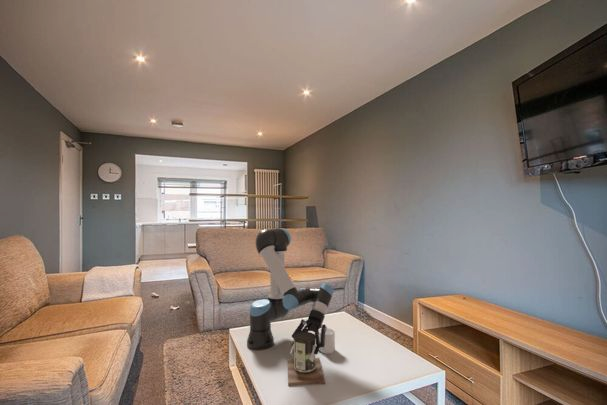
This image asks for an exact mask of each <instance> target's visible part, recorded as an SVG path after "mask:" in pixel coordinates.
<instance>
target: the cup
mask: <svg viewBox="0 0 607 405" xmlns="http://www.w3.org/2000/svg"><path fill="white" fill-rule="evenodd" d="M335 333H336V332H335V330H334V329H333V328H328V327H327V329H326V332H325V345H324V347H320V348H319V351H320V352H321V353H322V354H326V355H329V354H333V353H335V351H336V341H335V340H336V338H335V337H336V336H335V335H336V334H335ZM313 334H314V335H315V333H313ZM319 339H320V340H321V329H319ZM315 345H316V338H315Z"/></svg>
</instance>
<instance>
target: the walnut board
mask: <svg viewBox="0 0 607 405" xmlns="http://www.w3.org/2000/svg"><path fill="white" fill-rule="evenodd" d="M286 360H287V384H288V385H287V386H306V385H325V384H326V380H325V376H324V372H323V369H322V367H323V366H322V364H321V360H320V357H315V365H316V367H315V369H314V370H313V371H310V372H299V371H297V370H296V369H295V368H294V358H287V359H286Z"/></svg>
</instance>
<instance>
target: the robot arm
mask: <svg viewBox="0 0 607 405" xmlns="http://www.w3.org/2000/svg"><path fill="white" fill-rule="evenodd" d="M291 240H292V238H291V234H290V232H288V230H287V229H285V228H281V227H279V228H278V227H277V228H269V229H267V228H266V229H263V230H260V232H258V234H257V236H256V237H255V248H256V251H257V253H258V255H259V256H260V257H262V259H263V261H264V262H265V264H266V266H267V267H268V269H269V271H270V273H269V274H270V275H269V276H270V277H269V278H270V286H269V287H270V291H269V292H270V293H269V294H268V295H267V299H265V298H264V299H263V298H262V299H258V300H255V301H253V302H252V303H251V304H250V308H249V332H248V337H247V340H246V346H247V347H248V348H249V349H251V350H254V351H255V350H257V351H259V350H262V351H263V350H266V349H269V348H271V347H272V346H274V343H275V340H274V339H275V338H274V335H273V331H272V330H271V329H272V328H271V327H272V326H271V325H272V324H271V323H272V322H274V321H277V320H279V319H282V318H283V319H284V318H285V317H286V316H288V315H289V313H290V312H291V311H292V310H295V309H297V308H299V307H302V306H305V305H307V304H310V303H313V304H312V307H311V310H310V312H309V315H308V318H307V319H306V320H304V318H302V319H301V320H300V323H299V325H298V326H297V327H296V329H295V330H294V332H292V334H291V338H292V340H293V341H292V344H291V349H290V353H289V354H290V355H291V356H293V357H294V335H295V334H297V333H299V332H312V333H314V334H315V338H316V344H315V345H314V348H313V350H312V353H311V356H310V359H309V360H310V361H311V362H313V361H314V358H316V355H318V353H319V351H320V347H324V345H325V332H326V329H327V328H328V326H326V324H323V322H324V319H325V316H326V314H327V312H328V309H329V305H330V302H331V300H332V298H333V295H334V290H335V289H334V287H333V286H332V285H330V284H328V283H324V282H323V283H322V284H320V286H319V287H301V288H300V289H299V290H298V289H297V288H296V286H295V284H294V282H293V280H292V278H291V277H290V275H289V273H288V271H287V270H286V268H285V253H287V250H288V246H289V245H290V244H291ZM320 330H321V340H320V339H319V331H320Z"/></svg>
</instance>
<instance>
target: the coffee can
mask: <svg viewBox="0 0 607 405" xmlns="http://www.w3.org/2000/svg"><path fill="white" fill-rule="evenodd" d="M314 334H315V333H314V332H311V331H308V332H299V333H297V334H295V335H294V339H293V341H294V356H293V359H294V368H295V369H296V370H297V371H299V372H310V371H313V370H314V369H315V367H316V365H315V358H316V357H315V358H314V361H313V362H311V361H310V360H309V359H310V356H311V353H312V350H313V348H314V345H316V344H315V335H314Z"/></svg>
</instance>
